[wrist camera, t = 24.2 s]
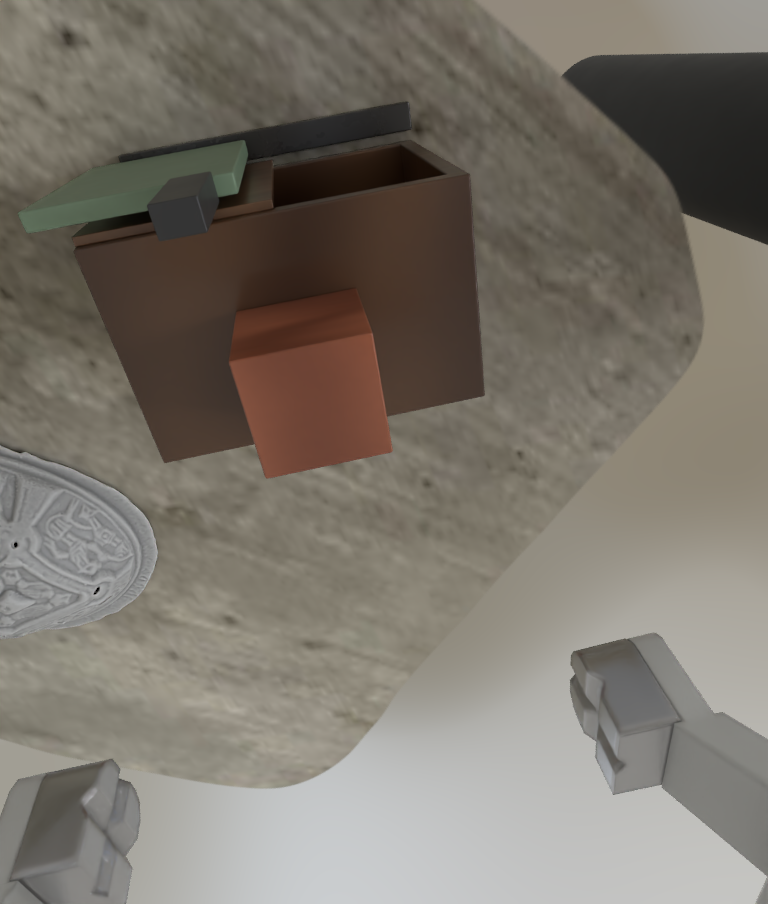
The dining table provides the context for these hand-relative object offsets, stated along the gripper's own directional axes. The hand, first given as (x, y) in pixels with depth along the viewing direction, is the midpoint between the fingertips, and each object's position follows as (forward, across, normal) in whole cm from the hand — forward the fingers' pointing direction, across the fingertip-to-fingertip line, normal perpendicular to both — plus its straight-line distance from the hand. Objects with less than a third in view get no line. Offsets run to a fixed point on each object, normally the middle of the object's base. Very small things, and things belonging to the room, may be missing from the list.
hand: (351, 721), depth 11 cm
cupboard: (+27, 0, -1) cm, 27 cm away
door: (+27, +5, -7) cm, 28 cm away
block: (+16, 0, 0) cm, 16 cm away
